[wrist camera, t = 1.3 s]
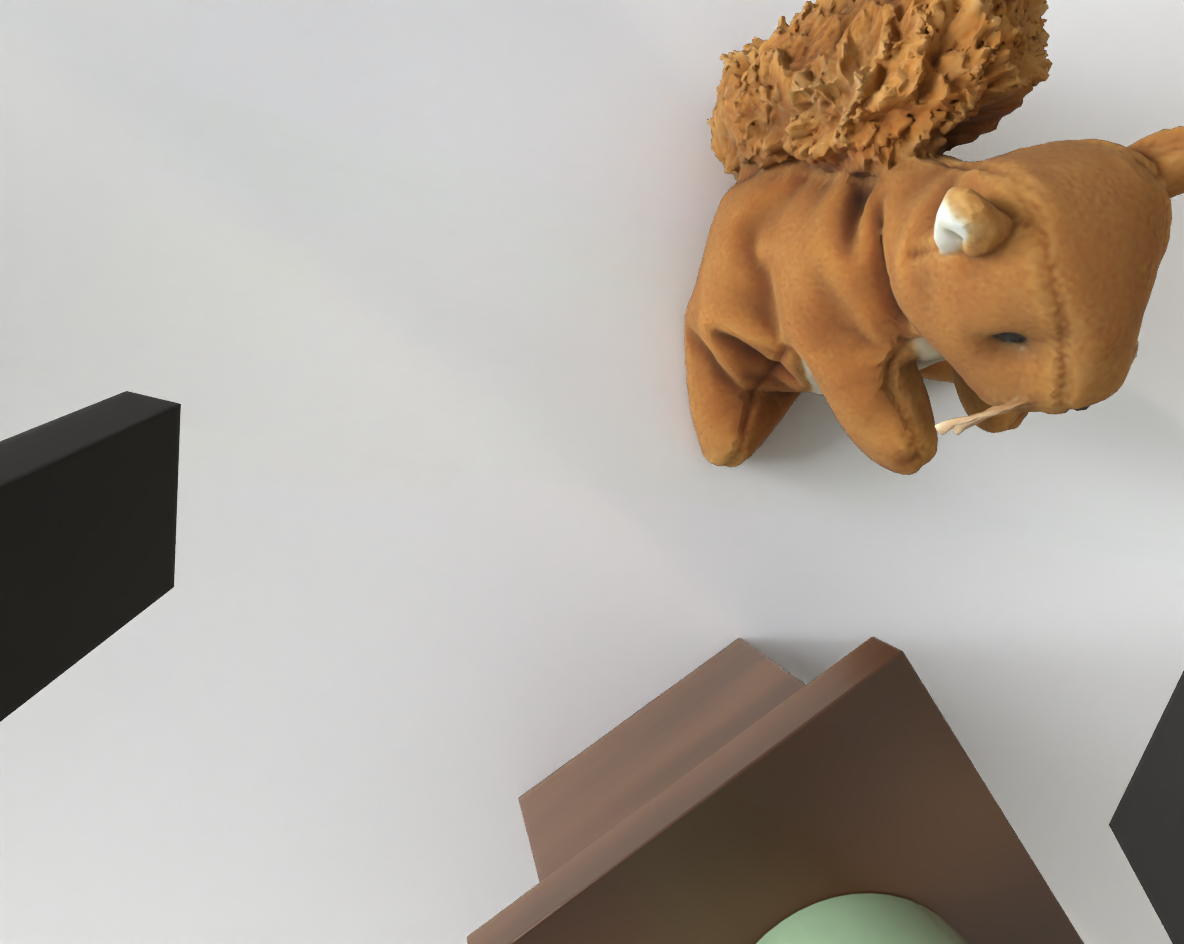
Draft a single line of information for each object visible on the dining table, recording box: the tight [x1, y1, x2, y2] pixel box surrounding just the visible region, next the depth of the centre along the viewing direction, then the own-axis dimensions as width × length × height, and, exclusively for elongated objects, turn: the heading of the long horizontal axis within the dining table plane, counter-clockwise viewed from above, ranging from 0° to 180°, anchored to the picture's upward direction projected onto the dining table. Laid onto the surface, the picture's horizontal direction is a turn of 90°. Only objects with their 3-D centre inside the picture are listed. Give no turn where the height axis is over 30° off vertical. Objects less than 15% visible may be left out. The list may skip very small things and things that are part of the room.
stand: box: [467, 637, 1084, 944], centre depth 27 cm, size 14×12×10 cm
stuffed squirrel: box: [685, 0, 1184, 475], centre depth 25 cm, size 10×14×13 cm
